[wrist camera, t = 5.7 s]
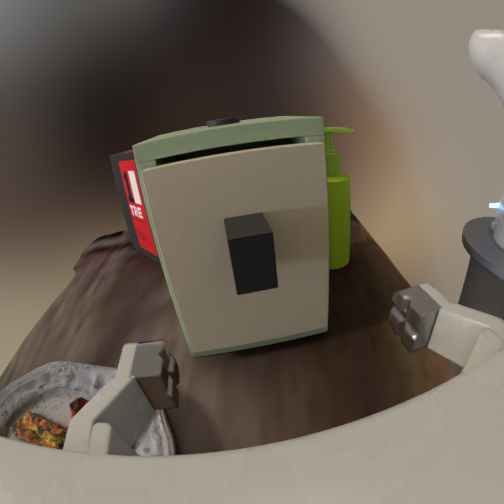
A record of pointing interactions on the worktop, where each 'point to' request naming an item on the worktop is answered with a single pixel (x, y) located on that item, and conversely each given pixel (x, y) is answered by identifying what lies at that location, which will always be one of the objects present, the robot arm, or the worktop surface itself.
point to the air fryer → (223, 141)
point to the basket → (244, 242)
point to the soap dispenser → (337, 203)
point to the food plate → (68, 407)
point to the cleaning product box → (134, 203)
